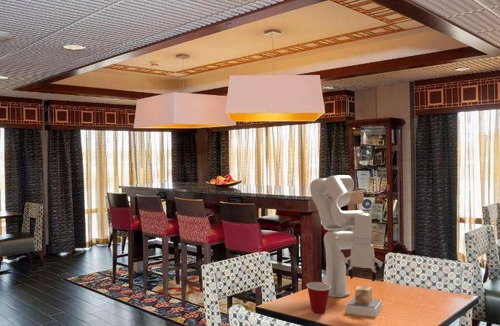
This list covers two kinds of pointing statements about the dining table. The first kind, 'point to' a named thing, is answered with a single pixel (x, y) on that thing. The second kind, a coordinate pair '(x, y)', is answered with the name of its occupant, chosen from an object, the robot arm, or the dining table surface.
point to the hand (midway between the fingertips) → (362, 279)
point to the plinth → (364, 307)
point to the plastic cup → (318, 296)
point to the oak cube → (363, 295)
